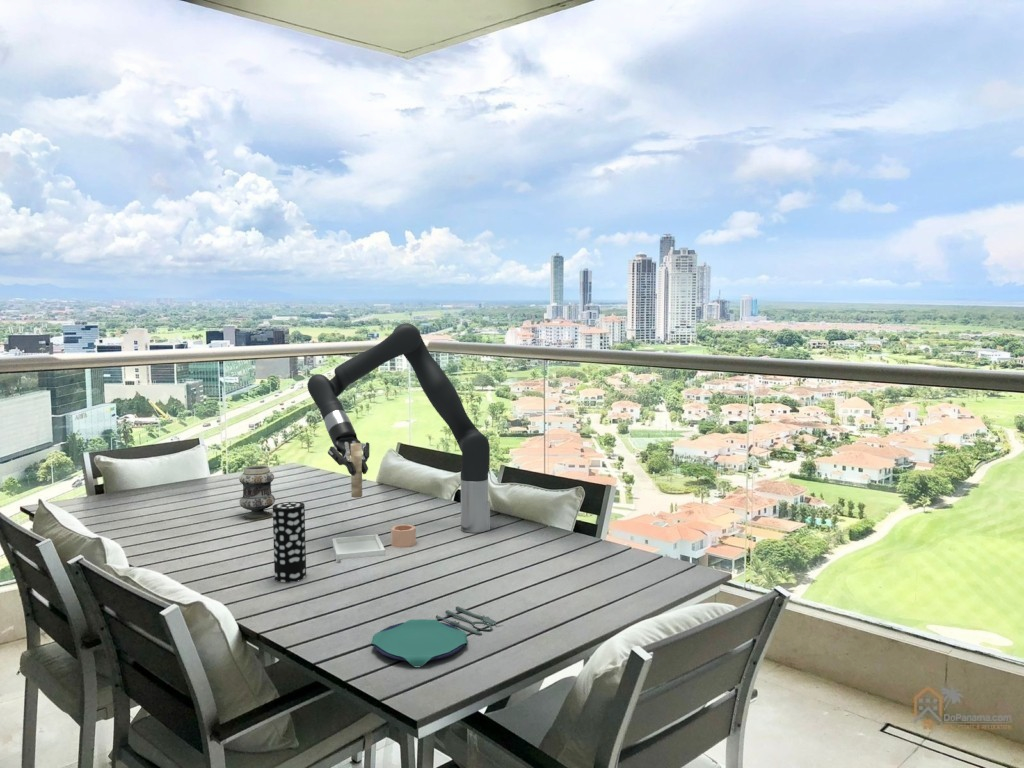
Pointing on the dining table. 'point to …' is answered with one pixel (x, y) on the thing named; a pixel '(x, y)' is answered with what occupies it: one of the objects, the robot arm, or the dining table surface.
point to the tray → (357, 547)
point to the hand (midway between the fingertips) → (359, 473)
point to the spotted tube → (289, 541)
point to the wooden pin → (357, 462)
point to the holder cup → (403, 536)
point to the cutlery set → (425, 638)
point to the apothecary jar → (257, 491)
